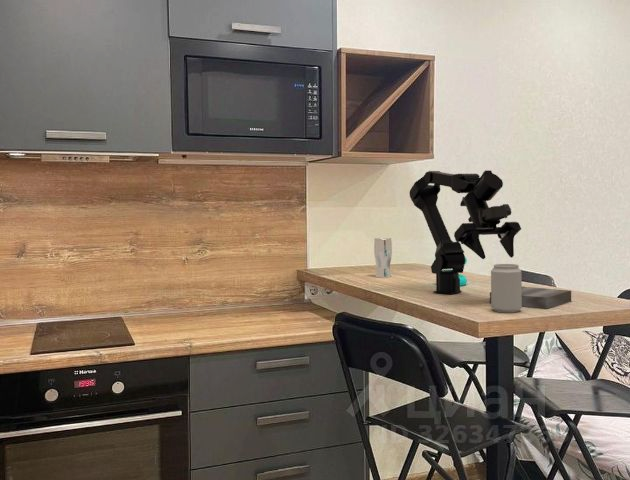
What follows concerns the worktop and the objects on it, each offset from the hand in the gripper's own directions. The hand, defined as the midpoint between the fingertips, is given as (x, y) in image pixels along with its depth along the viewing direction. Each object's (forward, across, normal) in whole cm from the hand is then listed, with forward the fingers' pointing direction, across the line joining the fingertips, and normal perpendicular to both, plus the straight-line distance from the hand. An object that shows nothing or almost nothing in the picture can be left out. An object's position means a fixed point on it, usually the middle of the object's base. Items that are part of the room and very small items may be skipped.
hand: (498, 257), depth 162 cm
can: (+16, -4, 0) cm, 16 cm away
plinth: (+11, +10, +6) cm, 16 cm away
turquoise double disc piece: (-12, +12, +41) cm, 44 cm away
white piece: (-31, +2, +68) cm, 75 cm away
